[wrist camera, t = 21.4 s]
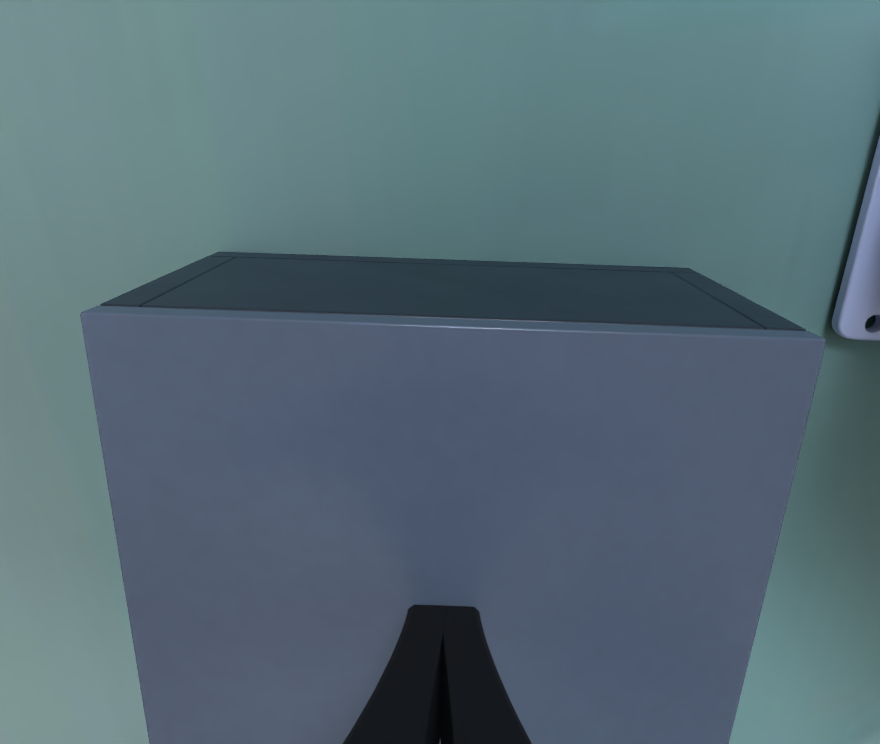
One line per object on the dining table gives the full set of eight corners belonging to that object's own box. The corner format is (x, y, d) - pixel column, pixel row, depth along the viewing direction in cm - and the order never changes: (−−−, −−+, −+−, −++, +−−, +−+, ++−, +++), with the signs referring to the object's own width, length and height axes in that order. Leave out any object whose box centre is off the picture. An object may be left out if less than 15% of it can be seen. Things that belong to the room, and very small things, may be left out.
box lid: (699, 802, 16) (709, 826, 15) (168, 778, 16) (157, 801, 15) (810, 330, 12) (828, 339, 11) (96, 304, 12) (78, 312, 11)
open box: (633, 597, 22) (700, 767, 16) (248, 580, 22) (170, 743, 16) (690, 267, 18) (808, 329, 12) (217, 251, 18) (98, 304, 12)
